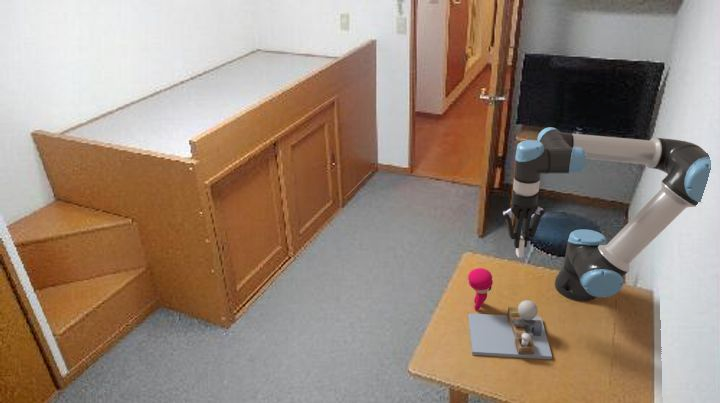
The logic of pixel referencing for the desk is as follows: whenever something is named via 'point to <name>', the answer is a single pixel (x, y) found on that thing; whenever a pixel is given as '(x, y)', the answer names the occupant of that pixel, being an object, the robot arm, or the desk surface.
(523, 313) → the lightbulb
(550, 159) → the robot arm
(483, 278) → the toy
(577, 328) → the desk surface
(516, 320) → the keeper
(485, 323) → the board
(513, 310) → the link
